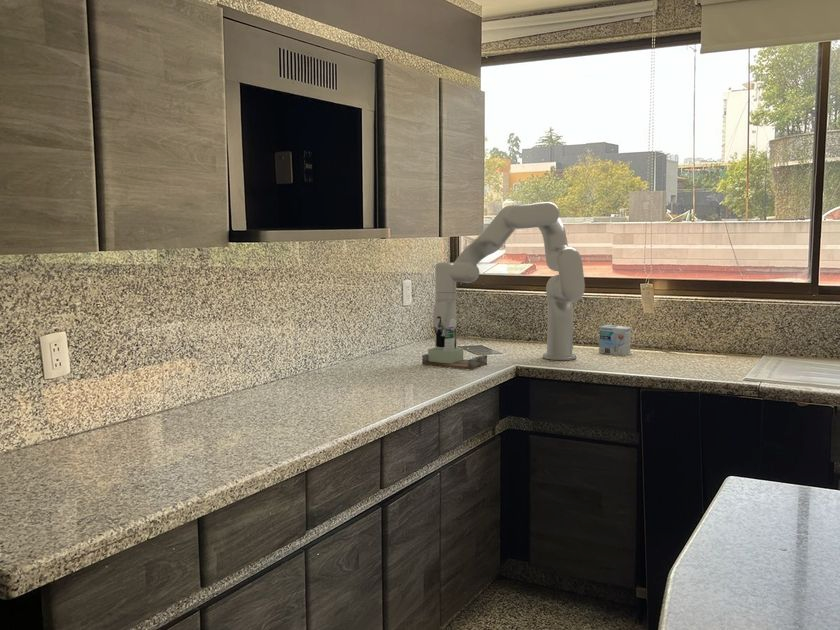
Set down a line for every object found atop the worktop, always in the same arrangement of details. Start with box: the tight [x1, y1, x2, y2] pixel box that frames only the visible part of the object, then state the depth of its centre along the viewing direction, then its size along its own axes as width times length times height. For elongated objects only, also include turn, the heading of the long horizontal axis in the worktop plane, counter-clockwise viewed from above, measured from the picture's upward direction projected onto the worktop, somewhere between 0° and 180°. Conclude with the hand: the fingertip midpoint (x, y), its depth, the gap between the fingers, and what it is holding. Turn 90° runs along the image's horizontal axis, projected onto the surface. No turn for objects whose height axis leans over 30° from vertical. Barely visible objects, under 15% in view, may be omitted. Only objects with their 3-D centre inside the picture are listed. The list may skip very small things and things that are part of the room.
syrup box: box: [434, 319, 457, 351], centre depth 278 cm, size 6×6×14 cm
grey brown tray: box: [421, 353, 488, 371], centre depth 277 cm, size 12×20×4 cm, turn 59°
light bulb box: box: [598, 324, 632, 356], centre depth 301 cm, size 11×7×11 cm, turn 55°
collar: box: [427, 346, 464, 364], centre depth 278 cm, size 9×9×4 cm
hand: (445, 345), depth 278 cm, fingers closed on syrup box, 7 cm apart
